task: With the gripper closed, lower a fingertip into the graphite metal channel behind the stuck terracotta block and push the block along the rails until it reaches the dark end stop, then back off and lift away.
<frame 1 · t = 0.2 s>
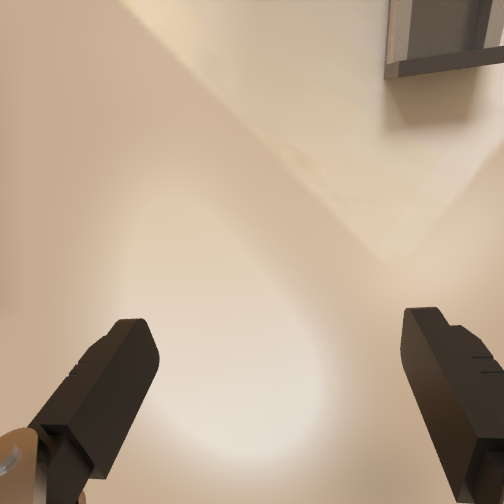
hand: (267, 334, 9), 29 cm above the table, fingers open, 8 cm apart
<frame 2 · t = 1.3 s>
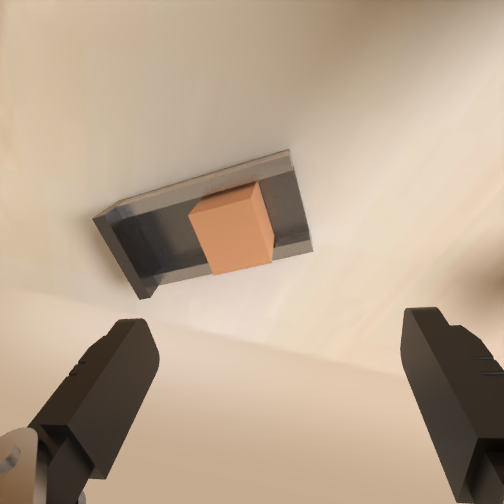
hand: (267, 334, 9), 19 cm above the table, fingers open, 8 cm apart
jammed block: (235, 226, 25), point 3 cm above the table, slide at 0.0 cm
chute: (218, 219, 29), on the table
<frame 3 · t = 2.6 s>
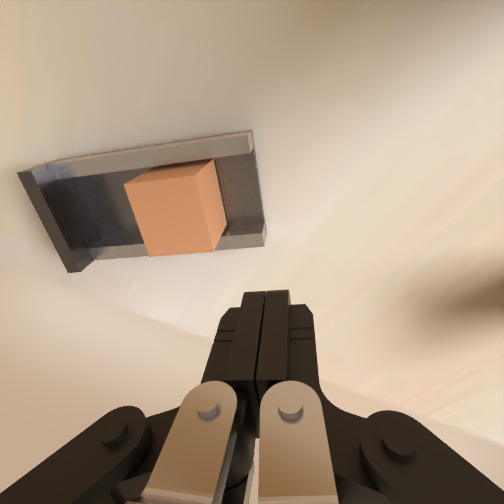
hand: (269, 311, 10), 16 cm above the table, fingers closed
jammed block: (181, 206, 23), point 3 cm above the table, slide at 0.0 cm
chute: (169, 196, 26), on the table
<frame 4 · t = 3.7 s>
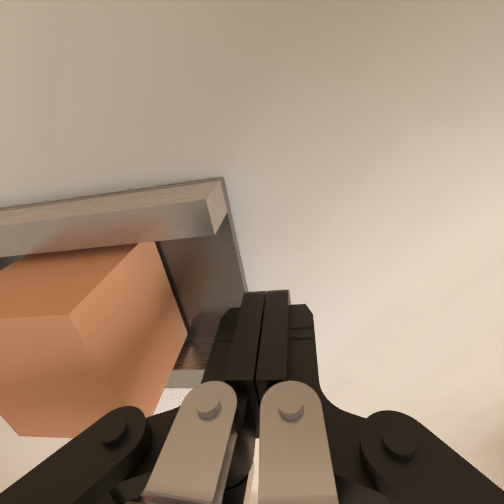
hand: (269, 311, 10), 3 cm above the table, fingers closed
jammed block: (87, 329, 12), point 3 cm above the table, slide at 0.0 cm
chute: (85, 285, 15), on the table
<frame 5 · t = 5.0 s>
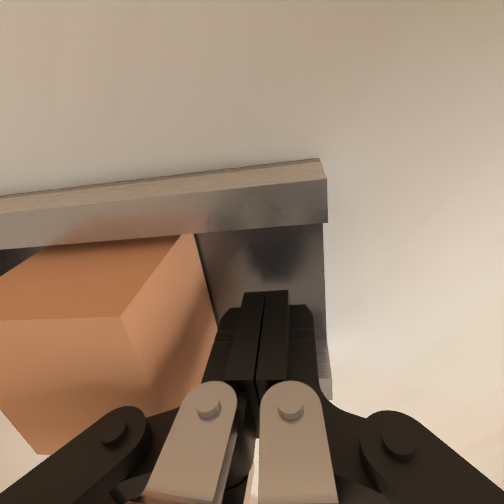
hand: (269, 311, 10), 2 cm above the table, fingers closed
jammed block: (117, 332, 10), point 3 cm above the table, slide at 1.4 cm, touching gripper
chute: (135, 281, 13), on the table
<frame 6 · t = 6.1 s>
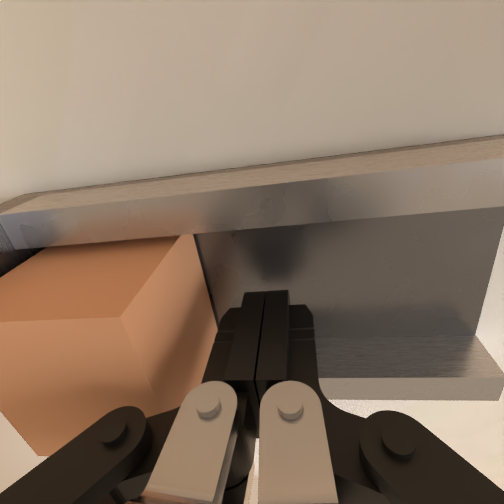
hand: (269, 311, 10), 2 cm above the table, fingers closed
jammed block: (117, 333, 10), point 3 cm above the table, slide at 7.0 cm, touching gripper
chute: (264, 273, 12), on the table
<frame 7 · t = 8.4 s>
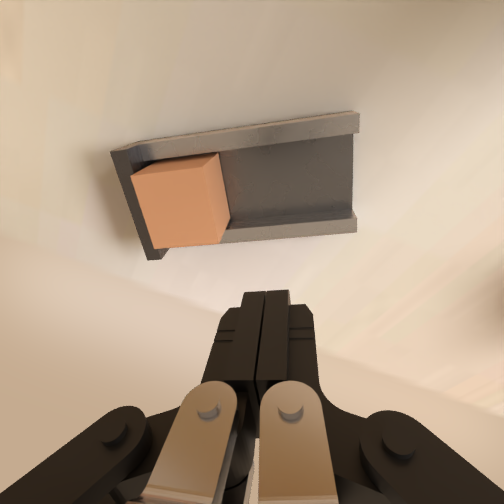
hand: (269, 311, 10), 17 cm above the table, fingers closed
jammed block: (186, 199, 23), point 3 cm above the table, slide at 7.0 cm
chute: (252, 181, 25), on the table
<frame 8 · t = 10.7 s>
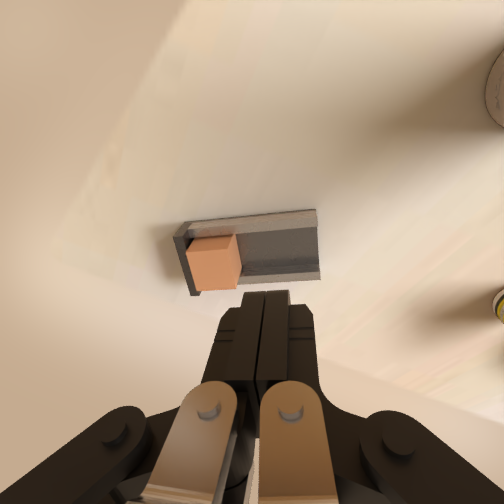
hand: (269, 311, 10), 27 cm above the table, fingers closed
jammed block: (216, 260, 38), point 3 cm above the table, slide at 7.0 cm
chute: (255, 245, 40), on the table
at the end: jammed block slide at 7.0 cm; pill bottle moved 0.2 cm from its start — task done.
